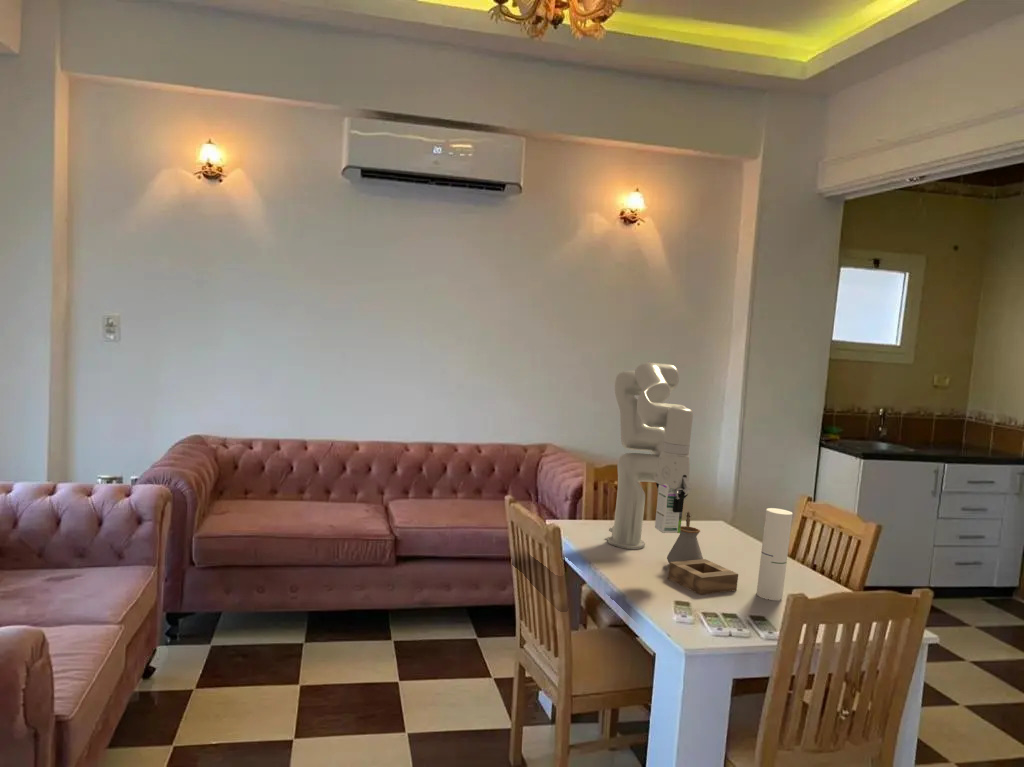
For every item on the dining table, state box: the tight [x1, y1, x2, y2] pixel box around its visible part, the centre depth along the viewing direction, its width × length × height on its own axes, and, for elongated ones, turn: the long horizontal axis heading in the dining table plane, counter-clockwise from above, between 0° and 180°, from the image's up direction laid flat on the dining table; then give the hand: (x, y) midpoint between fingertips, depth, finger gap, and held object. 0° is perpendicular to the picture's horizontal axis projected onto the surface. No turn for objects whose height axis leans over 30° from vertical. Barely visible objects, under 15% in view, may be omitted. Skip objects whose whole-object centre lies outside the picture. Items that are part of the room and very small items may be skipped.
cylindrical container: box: [756, 507, 794, 601], centre depth 218 cm, size 7×7×25 cm
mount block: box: [667, 558, 739, 596], centre depth 224 cm, size 14×14×5 cm
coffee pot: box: [666, 511, 704, 565], centre depth 242 cm, size 21×12×15 cm, turn 168°
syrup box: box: [654, 483, 683, 534], centre depth 224 cm, size 6×6×14 cm
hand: (669, 508), depth 224 cm, fingers closed on syrup box, 6 cm apart
